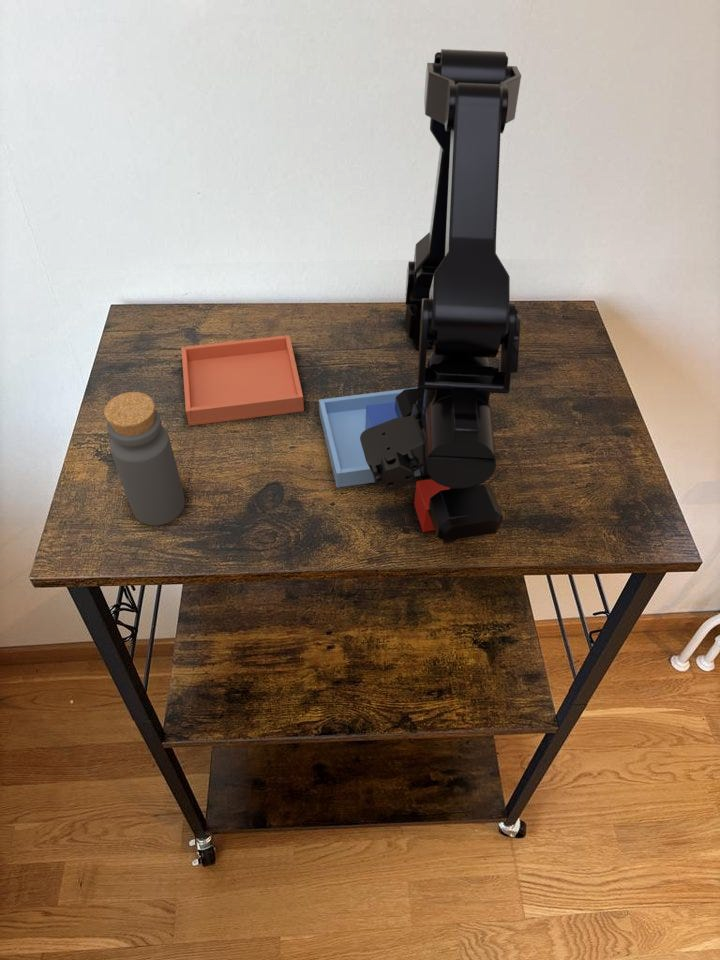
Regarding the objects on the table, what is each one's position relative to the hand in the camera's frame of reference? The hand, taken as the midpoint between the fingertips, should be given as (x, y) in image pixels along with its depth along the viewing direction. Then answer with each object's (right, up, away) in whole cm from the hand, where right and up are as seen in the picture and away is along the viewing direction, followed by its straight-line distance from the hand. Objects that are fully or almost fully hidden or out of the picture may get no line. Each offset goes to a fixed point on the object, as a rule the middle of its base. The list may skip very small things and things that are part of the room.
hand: (436, 508), depth 80 cm
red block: (0, -1, +1) cm, 1 cm away
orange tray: (-24, +15, +14) cm, 31 cm away
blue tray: (-5, +8, +8) cm, 12 cm away
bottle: (-31, 0, +1) cm, 31 cm away
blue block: (-5, +8, +8) cm, 12 cm away
